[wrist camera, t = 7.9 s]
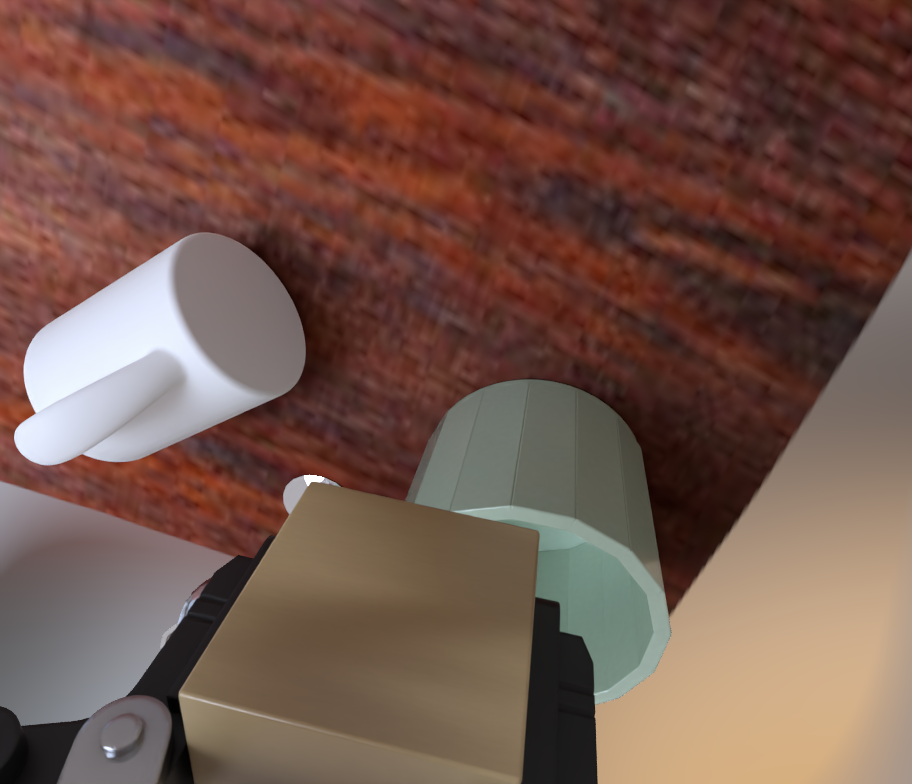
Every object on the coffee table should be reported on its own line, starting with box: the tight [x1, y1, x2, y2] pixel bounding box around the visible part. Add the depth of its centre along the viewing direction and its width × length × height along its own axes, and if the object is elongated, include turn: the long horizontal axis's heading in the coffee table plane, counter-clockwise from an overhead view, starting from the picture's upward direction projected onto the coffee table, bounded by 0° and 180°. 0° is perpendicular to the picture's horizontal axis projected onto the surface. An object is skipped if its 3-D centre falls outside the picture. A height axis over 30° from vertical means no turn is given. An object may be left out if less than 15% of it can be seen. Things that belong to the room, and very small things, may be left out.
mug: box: [14, 232, 306, 465], centre depth 28 cm, size 8×10×12 cm
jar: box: [405, 379, 671, 705], centre depth 30 cm, size 12×12×10 cm
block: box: [178, 481, 540, 784], centre depth 10 cm, size 4×4×4 cm
